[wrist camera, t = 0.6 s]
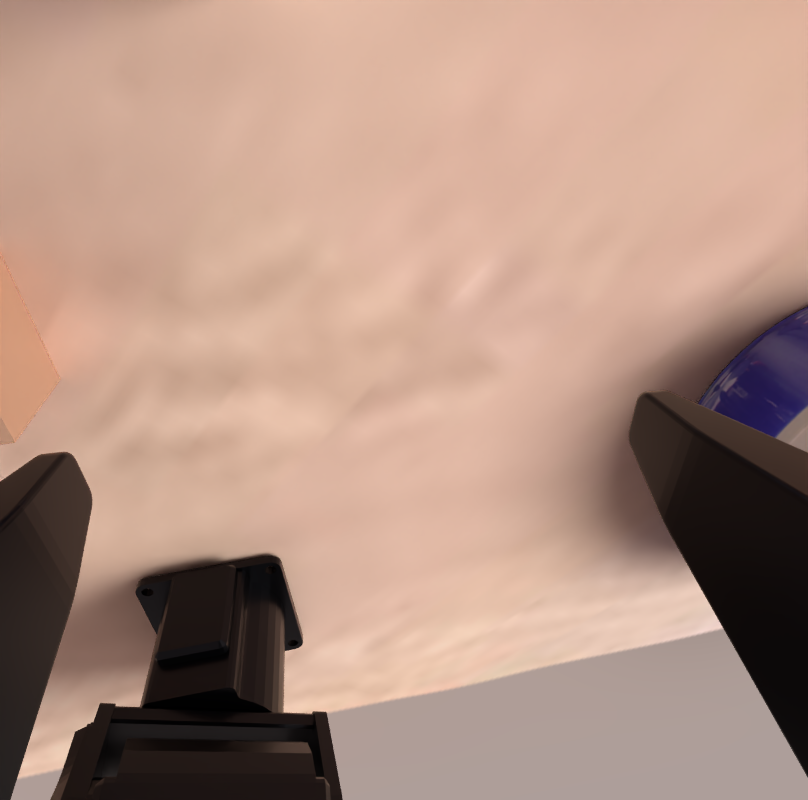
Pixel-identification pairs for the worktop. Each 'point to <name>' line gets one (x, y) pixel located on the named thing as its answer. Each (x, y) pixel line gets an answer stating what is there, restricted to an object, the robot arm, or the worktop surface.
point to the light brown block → (20, 362)
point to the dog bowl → (768, 383)
